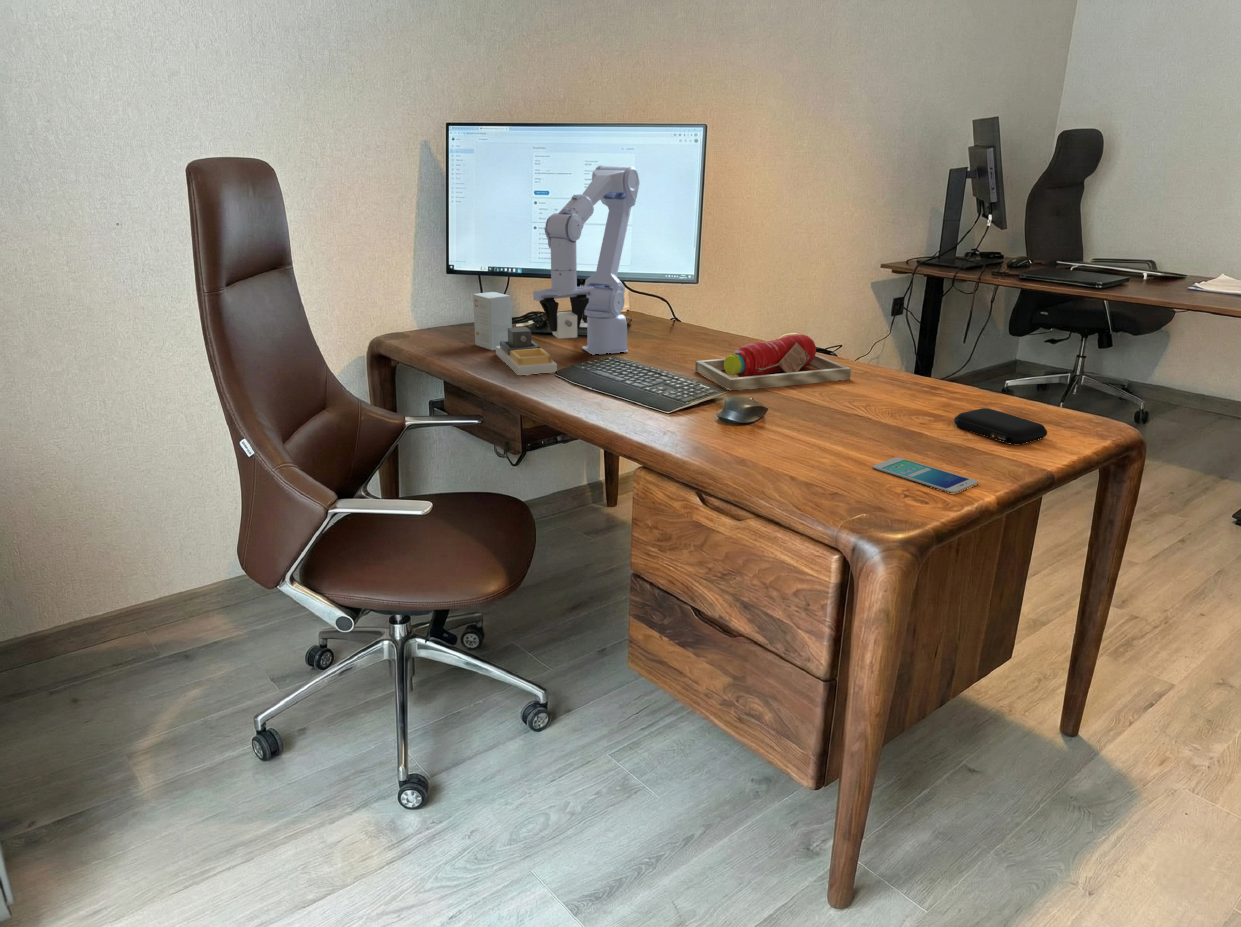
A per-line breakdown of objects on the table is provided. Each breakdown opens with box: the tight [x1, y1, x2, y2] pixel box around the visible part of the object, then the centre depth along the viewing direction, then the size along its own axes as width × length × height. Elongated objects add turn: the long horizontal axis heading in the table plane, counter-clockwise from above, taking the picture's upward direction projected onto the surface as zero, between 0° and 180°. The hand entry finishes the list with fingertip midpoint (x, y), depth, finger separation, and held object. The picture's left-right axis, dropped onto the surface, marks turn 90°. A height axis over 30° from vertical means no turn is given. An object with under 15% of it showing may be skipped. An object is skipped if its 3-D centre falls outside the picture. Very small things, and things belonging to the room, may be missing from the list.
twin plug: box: [507, 326, 533, 348], centre depth 215 cm, size 4×7×5 cm
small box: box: [472, 291, 513, 351], centre depth 228 cm, size 8×6×13 cm
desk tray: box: [694, 353, 852, 391], centre depth 203 cm, size 29×17×2 cm, turn 110°
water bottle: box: [724, 333, 817, 378], centre depth 203 cm, size 12×8×25 cm
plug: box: [552, 311, 578, 339], centre depth 207 cm, size 4×7×5 cm
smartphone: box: [872, 456, 979, 493], centre depth 145 cm, size 8×1×15 cm
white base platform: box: [495, 340, 558, 375], centre depth 213 cm, size 9×22×4 cm, turn 20°
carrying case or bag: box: [953, 407, 1048, 445], centre depth 165 cm, size 11×3×15 cm
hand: (564, 329), depth 209 cm, fingers closed on plug, 5 cm apart
